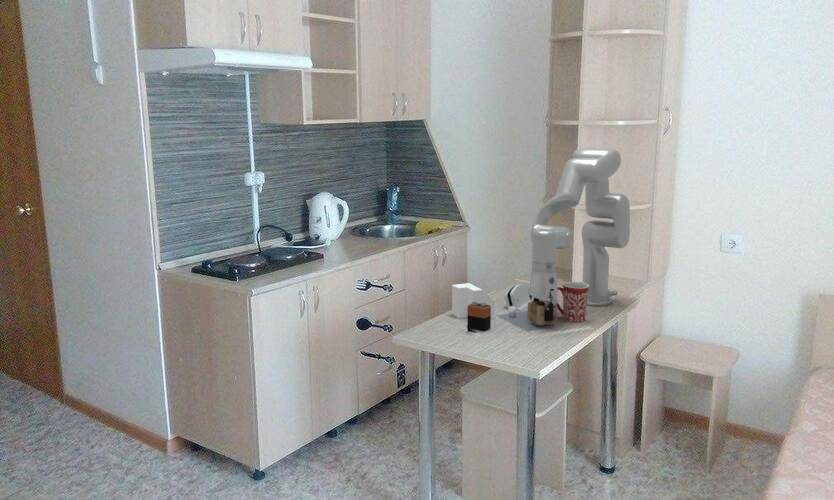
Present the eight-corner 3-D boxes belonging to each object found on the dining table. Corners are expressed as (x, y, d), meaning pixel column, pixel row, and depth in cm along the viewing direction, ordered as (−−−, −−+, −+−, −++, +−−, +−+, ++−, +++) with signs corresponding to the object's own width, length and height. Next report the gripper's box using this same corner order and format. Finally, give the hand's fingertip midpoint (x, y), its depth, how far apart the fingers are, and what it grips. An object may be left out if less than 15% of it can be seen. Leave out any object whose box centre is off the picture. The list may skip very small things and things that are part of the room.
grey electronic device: (521, 315, 244) (512, 288, 244) (509, 317, 247) (501, 291, 247) (538, 304, 258) (530, 279, 258) (527, 306, 261) (519, 282, 261)
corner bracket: (452, 317, 243) (452, 284, 240) (480, 313, 247) (480, 281, 244) (464, 325, 233) (464, 291, 231) (494, 321, 237) (494, 288, 235)
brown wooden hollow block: (544, 316, 234) (544, 300, 232) (556, 322, 227) (557, 305, 226) (527, 319, 231) (527, 302, 230) (539, 324, 224) (539, 307, 223)
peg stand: (526, 314, 246) (526, 298, 244) (559, 329, 228) (560, 312, 227) (495, 318, 240) (495, 303, 239) (527, 334, 222) (527, 317, 221)
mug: (591, 321, 236) (592, 283, 234) (582, 327, 229) (584, 289, 226) (557, 315, 243) (558, 279, 241) (547, 322, 236) (548, 284, 233)
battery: (484, 335, 223) (485, 305, 221) (466, 331, 226) (467, 302, 224) (491, 331, 226) (491, 302, 224) (473, 328, 230) (473, 299, 228)
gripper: (568, 270, 219) (567, 323, 223) (537, 260, 235) (536, 310, 238) (549, 272, 216) (548, 326, 220) (519, 262, 232) (518, 312, 235)
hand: (542, 317), depth 229 cm, fingers closed on brown wooden hollow block, 6 cm apart
